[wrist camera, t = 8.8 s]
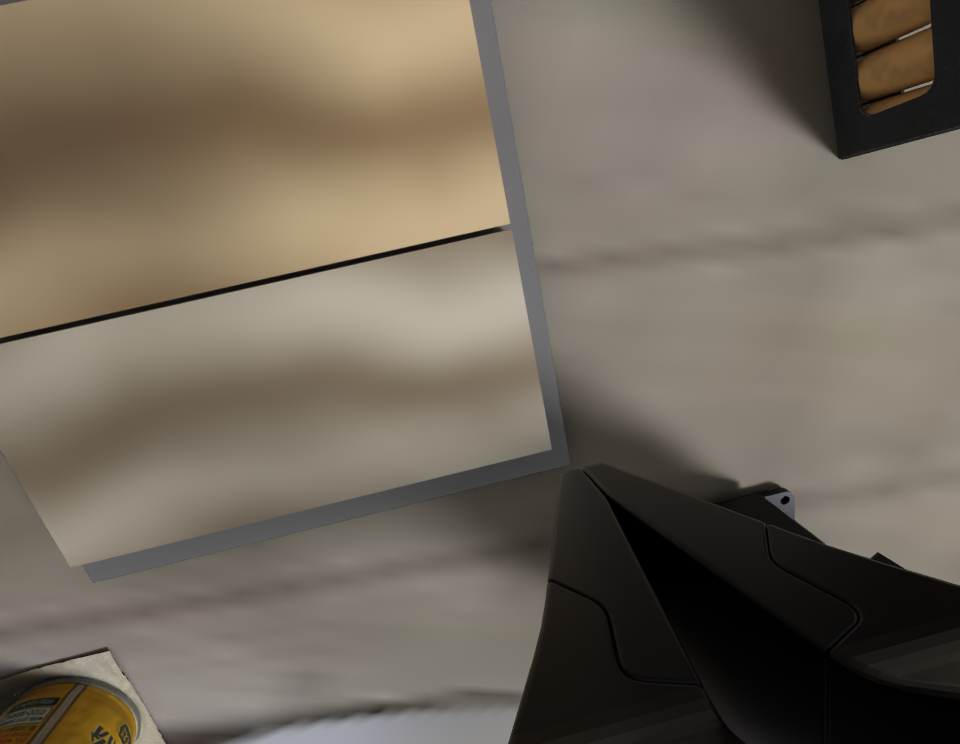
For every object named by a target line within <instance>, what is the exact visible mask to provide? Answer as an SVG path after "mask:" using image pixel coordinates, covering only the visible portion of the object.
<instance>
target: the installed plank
mask: <svg viewBox="0 0 960 744" xmlns="http://www.w3.org/2000/svg"><path fill="white" fill-rule="evenodd" d="M507 224H510V219H509V214H508V208H507V203H506V197H505V192H504V186H503V181H502V176H501V170H500V165H499V159H498V154H497V148H496V143H495V138H494V132H493V127H492V121H491V116H490V110H489V105H488V100H487V94H486V89H485V83H484V78H483V73H482V67H481V62H480V56H479V51H478V45H477V40H476V35H475V29H474V24H473V18H472V13H471V7H470V2H469V0H26V1H21V2H16V3H11V4H6V5H1V6H0V338H2V337H7V336H11V335H16V334H20V333H25V332H29V331H34V330H38V329H43V328H47V327H52V326H56V325H60V324H65V323H69V322H74V321H78V320H83V319H87V318H92V317H96V316H101V315H105V314H110V313H114V312H119V311H123V310H127V309H132V308H136V307H141V306H145V305H150V304H154V303H159V302H163V301H168V300H172V299H177V298H181V297H185V296H190V295H194V294H199V293H203V292H208V291H212V290H217V289H221V288H226V287H230V286H235V285H239V284H244V283H248V282H252V281H257V280H261V279H266V278H270V277H275V276H279V275H284V274H288V273H293V272H297V271H302V270H306V269H311V268H315V267H319V266H324V265H328V264H333V263H337V262H342V261H346V260H351V259H355V258H360V257H364V256H369V255H373V254H377V253H382V252H386V251H391V250H395V249H400V248H404V247H409V246H413V245H418V244H422V243H427V242H431V241H436V240H440V239H444V238H449V237H453V236H458V235H462V234H467V233H471V232H476V231H480V230H485V229H489V228H494V227H498V226H503V225H507Z"/></svg>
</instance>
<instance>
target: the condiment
mask: <svg viewBox="0 0 960 744" xmlns="http://www.w3.org/2000/svg"><path fill="white" fill-rule="evenodd" d="M13 694H16V696H14V695H13ZM0 744H165V742H164V740H163V739H162V736H161V734H160V733H159V732H158V730H157V726H156V725H155V723H154V721H153V719H152V718H151V716H150V715H149V713H148V710H147V709H146V707H145V705H144V704H143V702H142V701H141V700H140V698H139V696H138V694H137V693H136V692H135V690H134V688H133V687H132V685H131V683H130V682H129V681H128V680H127V678H126V676H125V675H123V674H122V672H121V670H120V668H119V667H118V665H117V664H116V662H115V660H114V659H113V657H112V655H111V653H110V651H107V652H103V653H99V654H94V655H90V656H86V657H81V658H76V659H72V660H69V661H66V662H64V663H56V664H52V665H48V666H44V667H42V668H40V669H33V670H30V671H27V672H24V673H21V674H16V675H14V676H11V677H9V678H6V679H2V680H0Z"/></svg>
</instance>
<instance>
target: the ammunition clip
mask: <svg viewBox="0 0 960 744" xmlns="http://www.w3.org/2000/svg"><path fill="white" fill-rule="evenodd" d="M819 8H820V16H821V23H822V31H823V39H824V47H825V55H826V62H827V70H828V78H829V86H830V93H831V101H832V109H833V117H834V125H835V132H836V140H837V148H838V156H839V159H842V160H843V159H847V158H851V157H855V156H859V155H862V154H866V153H870V152H874V151H878V150H881V149H885V148H889V147H893V146H897V145H901V144H904V143H908V142H912V141H916V140H920V139H923V138H927V137H931V136H935V135H939V134H942V133H946V132H950V131H954V130H958V129H960V0H819ZM928 24H931V26H932V27H930V28H928V29H925V30H923V31H921V32H918V33H916V34H913V35H911V36H909V37H906V38H904V39H902V40H899V37H901V36H904V35H906V34H908V33H910V32H913V31H915V30H917V29H919V28H922V27H924V26H926V25H928ZM932 80H934V81H933V83H932V84H931V85H927V86H924V87H921V88H918V89H915V90H911V91H908V92H905V93H904V90H905V89H908V88H911V87H914V86H917V85H920V84H923V83H926V82H929V81H932Z"/></svg>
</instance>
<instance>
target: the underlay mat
mask: <svg viewBox="0 0 960 744" xmlns="http://www.w3.org/2000/svg"><path fill="white" fill-rule="evenodd" d="M21 1H26V0H0V6H1V5H6V4H11V3H16V2H21ZM469 2H470V7H471V13H472V18H473V24H474V29H475V35H476V40H477V45H478V51H479V56H480V62H481V67H482V73H483V78H484V83H485V89H486V94H487V100H488V105H489V110H490V116H491V121H492V127H493V132H494V138H495V143H496V148H497V154H498V159H499V165H500V170H501V176H502V181H503V186H504V192H505V197H506V203H507V208H508V214H509V219H510V224H507V225H503V226H498V227H494V228H489V229H485V230H480V231H476V232H471V233H467V234H462V235H458V236H453V237H449V238H444V239H440V240H436V241H431V242H427V243H422V244H418V245H413V246H409V247H404V248H400V249H395V250H391V251H386V252H382V253H377V254H373V255H369V256H364V257H360V258H355V259H351V260H346V261H342V262H337V263H333V264H328V265H324V266H319V267H315V268H311V269H306V270H302V271H297V272H293V273H288V274H284V275H279V276H275V277H270V278H266V279H261V280H257V281H252V282H248V283H244V284H239V285H235V286H230V287H226V288H221V289H217V290H212V291H208V292H203V293H199V294H194V295H190V296H185V297H181V298H177V299H172V300H168V301H163V302H159V303H154V304H150V305H145V306H141V307H136V308H132V309H127V310H123V311H119V312H114V313H110V314H105V315H101V316H96V317H92V318H87V319H83V320H78V321H74V322H69V323H65V324H60V325H56V326H52V327H47V328H43V329H38V330H34V331H29V332H25V333H20V334H16V335H11V336H7V337H2V338H0V343H3V342H8V341H12V340H17V339H21V338H26V337H30V336H35V335H39V334H44V333H48V332H52V331H57V330H61V329H66V328H70V327H75V326H79V325H84V324H88V323H93V322H97V321H101V320H106V319H110V318H115V317H119V316H124V315H128V314H133V313H137V312H142V311H146V310H150V309H155V308H159V307H164V306H168V305H173V304H177V303H182V302H186V301H191V300H195V299H199V298H204V297H208V296H213V295H217V294H222V293H226V292H231V291H235V290H240V289H244V288H249V287H253V286H257V285H262V284H266V283H271V282H275V281H280V280H284V279H289V278H293V277H298V276H302V275H306V274H311V273H315V272H320V271H324V270H329V269H333V268H338V267H342V266H347V265H351V264H355V263H360V262H364V261H369V260H373V259H378V258H382V257H387V256H391V255H396V254H400V253H404V252H409V251H413V250H418V249H422V248H427V247H431V246H436V245H440V244H445V243H449V242H453V241H458V240H462V239H467V238H471V237H476V236H480V235H485V234H489V233H494V232H498V231H502V230H509V229H512V233H513V238H514V244H515V249H516V255H517V260H518V266H519V271H520V277H521V282H522V288H523V293H524V299H525V304H526V310H527V315H528V320H529V326H530V331H531V337H532V342H533V348H534V353H535V359H536V364H537V370H538V375H539V381H540V386H541V392H542V397H543V403H544V408H545V414H546V419H547V425H548V430H549V436H550V441H551V447H552V450H548V451H544V452H540V453H535V454H531V455H527V456H523V457H519V458H515V459H511V460H507V461H503V462H499V463H495V464H491V465H487V466H483V467H479V468H474V469H470V470H466V471H462V472H458V473H454V474H450V475H446V476H442V477H438V478H434V479H430V480H426V481H422V482H417V483H413V484H409V485H405V486H401V487H397V488H393V489H389V490H385V491H381V492H377V493H373V494H369V495H365V496H361V497H356V498H352V499H348V500H344V501H340V502H336V503H332V504H328V505H324V506H320V507H316V508H312V509H308V510H304V511H300V512H295V513H291V514H287V515H283V516H279V517H275V518H271V519H267V520H263V521H259V522H255V523H251V524H247V525H243V526H238V527H234V528H230V529H226V530H222V531H218V532H214V533H210V534H206V535H202V536H198V537H194V538H190V539H186V540H182V541H177V542H173V543H169V544H165V545H161V546H157V547H153V548H149V549H145V550H141V551H137V552H133V553H129V554H125V555H120V556H116V557H112V558H108V559H104V560H100V561H96V562H92V563H88V564H84V565H83V567H84V569H85V570H86V572H87V574H88V576H89V577H90V579H91V581H92V583H95V582H99V581H103V580H107V579H111V578H115V577H119V576H123V575H127V574H131V573H135V572H139V571H143V570H147V569H151V568H155V567H159V566H163V565H167V564H171V563H175V562H179V561H184V560H188V559H192V558H196V557H200V556H204V555H208V554H212V553H216V552H220V551H224V550H228V549H232V548H236V547H240V546H244V545H248V544H252V543H256V542H260V541H264V540H268V539H272V538H276V537H280V536H284V535H289V534H293V533H297V532H301V531H305V530H309V529H313V528H317V527H321V526H325V525H329V524H333V523H337V522H341V521H345V520H349V519H353V518H357V517H361V516H365V515H369V514H373V513H377V512H381V511H385V510H389V509H394V508H398V507H402V506H406V505H410V504H414V503H418V502H422V501H426V500H430V499H434V498H438V497H442V496H446V495H450V494H454V493H458V492H462V491H466V490H470V489H474V488H478V487H482V486H486V485H490V484H494V483H499V482H503V481H507V480H511V479H515V478H519V477H523V476H527V475H531V474H535V473H539V472H543V471H547V470H551V469H555V468H559V467H563V466H567V465H571V462H570V457H569V451H568V445H567V439H566V433H565V428H564V422H563V416H562V410H561V404H560V399H559V393H558V387H557V381H556V376H555V370H554V364H553V358H552V352H551V347H550V341H549V335H548V329H547V323H546V318H545V312H544V306H543V300H542V294H541V289H540V283H539V277H538V271H537V265H536V260H535V254H534V248H533V242H532V236H531V231H530V225H529V219H528V213H527V207H526V202H525V196H524V190H523V184H522V179H521V173H520V167H519V161H518V155H517V150H516V144H515V138H514V132H513V126H512V121H511V115H510V109H509V103H508V97H507V92H506V86H505V80H504V74H503V68H502V63H501V57H500V51H499V45H498V39H497V34H496V28H495V22H494V16H493V11H492V5H491V0H469Z"/></svg>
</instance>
